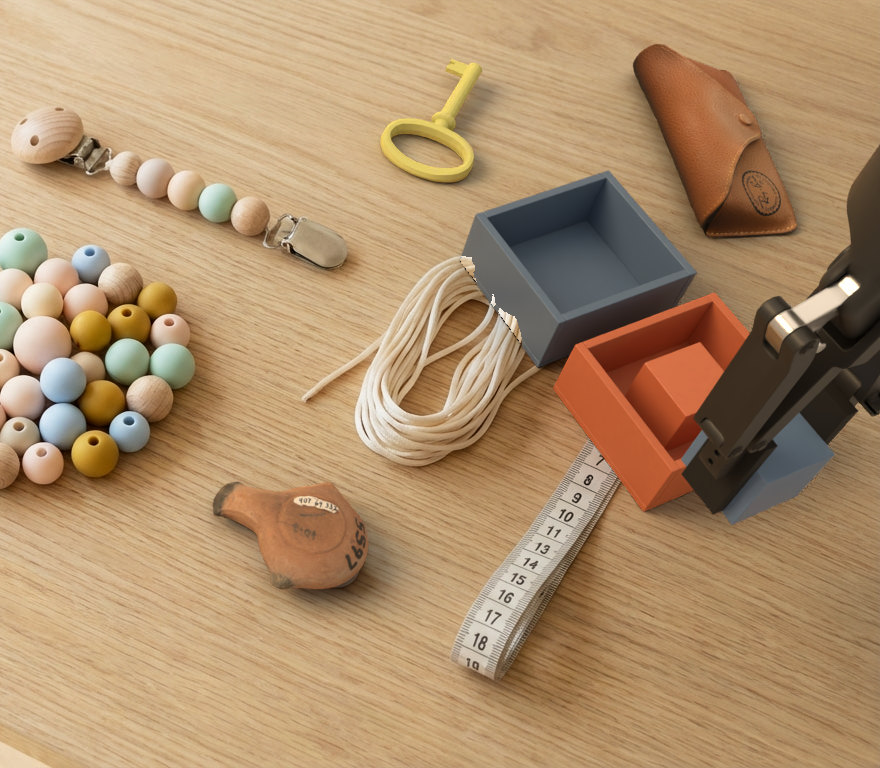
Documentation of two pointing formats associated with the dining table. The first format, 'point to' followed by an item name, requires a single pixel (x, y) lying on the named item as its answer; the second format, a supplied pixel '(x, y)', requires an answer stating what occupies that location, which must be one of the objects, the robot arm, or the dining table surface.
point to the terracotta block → (674, 393)
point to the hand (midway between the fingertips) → (740, 474)
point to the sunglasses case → (714, 146)
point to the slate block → (776, 470)
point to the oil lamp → (299, 532)
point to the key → (437, 130)
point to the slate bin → (575, 264)
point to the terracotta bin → (610, 376)
